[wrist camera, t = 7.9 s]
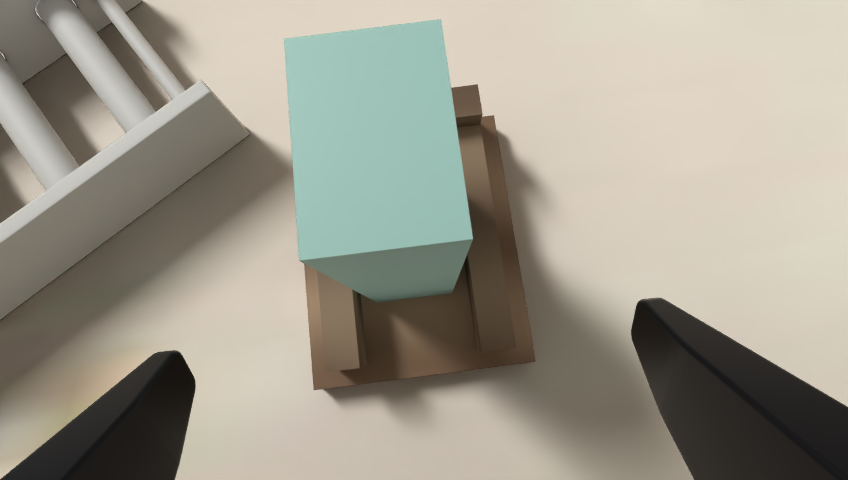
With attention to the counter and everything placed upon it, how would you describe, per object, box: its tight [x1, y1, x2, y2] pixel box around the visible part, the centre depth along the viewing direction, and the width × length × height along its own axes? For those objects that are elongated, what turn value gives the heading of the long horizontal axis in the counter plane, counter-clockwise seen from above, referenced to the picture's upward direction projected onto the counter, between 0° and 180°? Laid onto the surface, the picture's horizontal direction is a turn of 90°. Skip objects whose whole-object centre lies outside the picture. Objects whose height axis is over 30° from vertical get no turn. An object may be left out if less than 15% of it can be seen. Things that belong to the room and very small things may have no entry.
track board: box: [304, 84, 535, 390], centre depth 21 cm, size 12×10×4 cm
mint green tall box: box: [284, 19, 473, 303], centre depth 16 cm, size 6×4×12 cm, turn 7°
